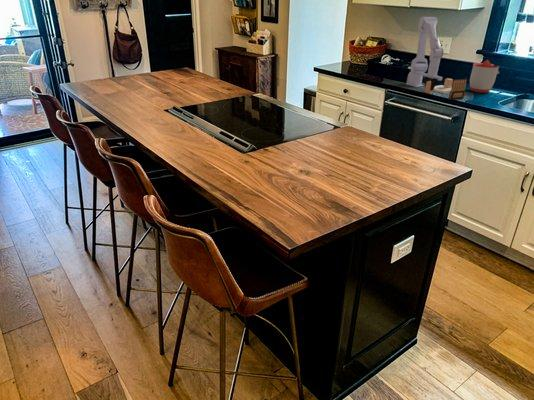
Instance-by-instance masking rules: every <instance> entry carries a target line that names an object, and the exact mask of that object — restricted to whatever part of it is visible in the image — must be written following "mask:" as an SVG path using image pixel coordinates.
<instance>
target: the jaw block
mask: <svg viewBox="0 0 534 400" xmlns="http://www.w3.org/2000/svg"><path fill="white" fill-rule="evenodd" d="M430 88H431V80H430V81H427V83H426V88H425V87H424V93H425V94H433V92H434V91H433V90H432V91H431V90H430Z"/></svg>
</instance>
